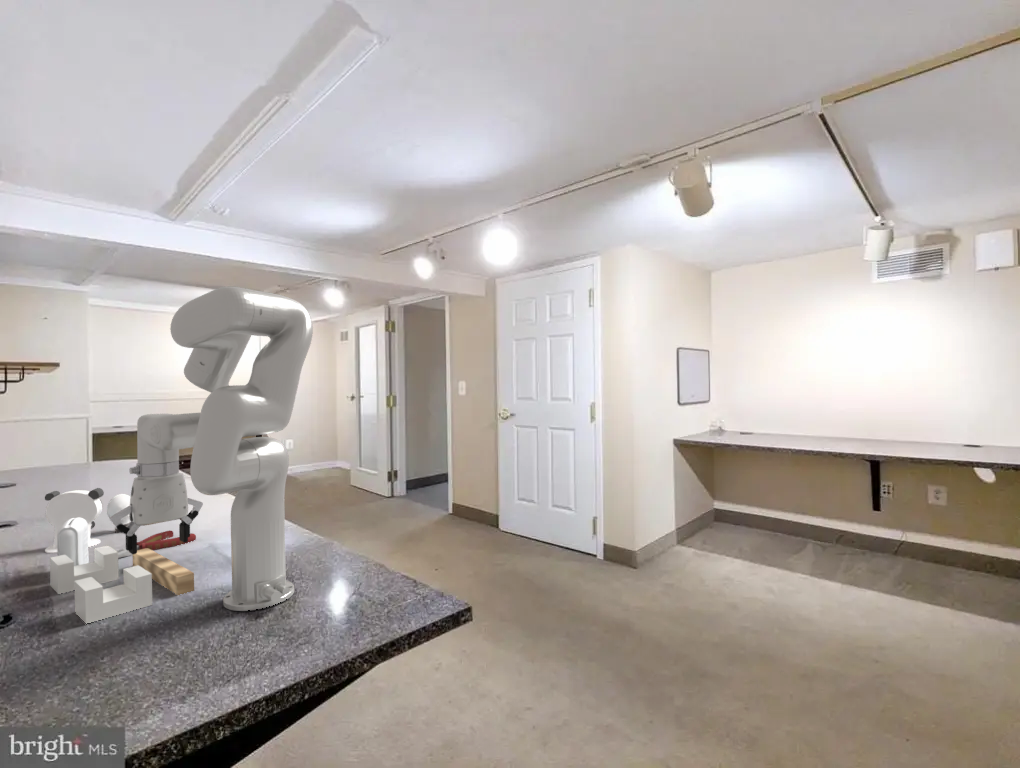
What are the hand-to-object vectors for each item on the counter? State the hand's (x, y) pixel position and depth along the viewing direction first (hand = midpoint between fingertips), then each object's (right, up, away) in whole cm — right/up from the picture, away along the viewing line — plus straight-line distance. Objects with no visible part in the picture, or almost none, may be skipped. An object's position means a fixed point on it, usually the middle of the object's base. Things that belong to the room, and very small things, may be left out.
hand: (159, 546), depth 112 cm
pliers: (-18, -8, +22) cm, 30 cm away
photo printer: (-22, -8, +4) cm, 24 cm away
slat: (+1, -7, 0) cm, 7 cm away
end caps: (-6, -7, -9) cm, 13 cm away
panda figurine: (-40, -8, +24) cm, 47 cm away
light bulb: (-38, -8, +38) cm, 54 cm away
